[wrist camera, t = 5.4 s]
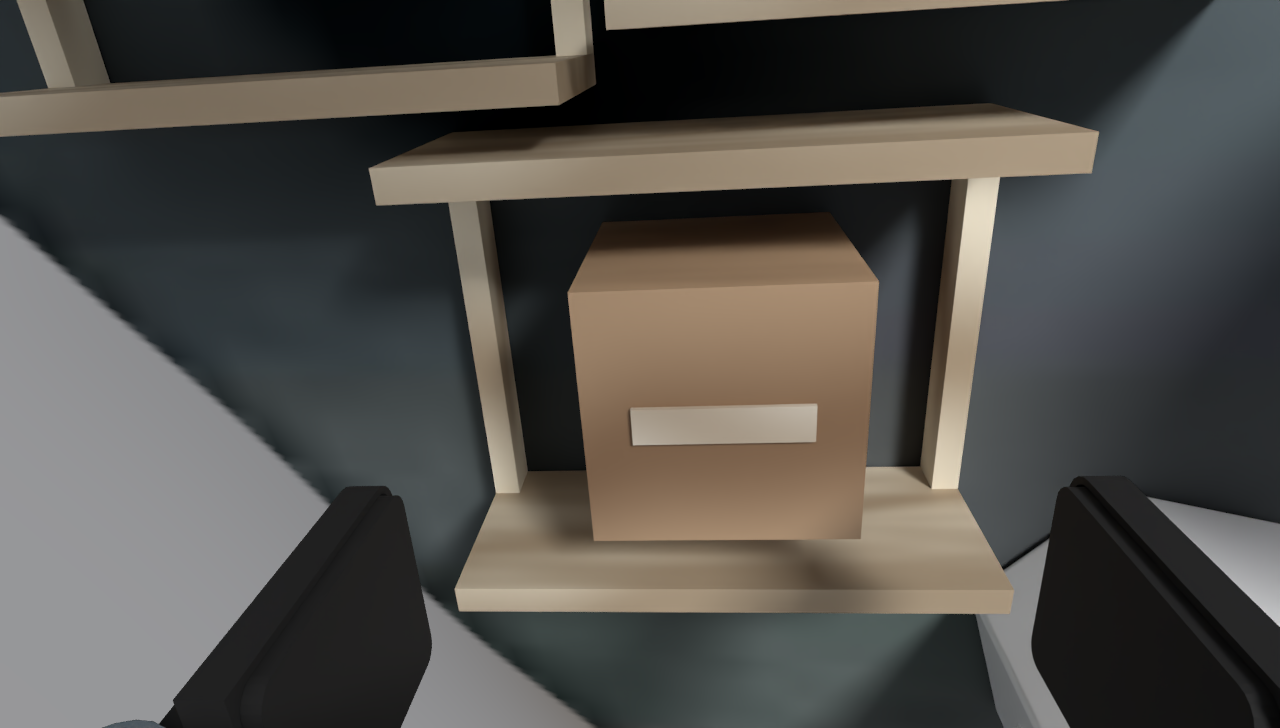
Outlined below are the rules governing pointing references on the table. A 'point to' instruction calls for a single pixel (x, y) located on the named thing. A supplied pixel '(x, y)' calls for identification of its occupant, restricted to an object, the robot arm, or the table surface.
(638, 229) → the letter cube
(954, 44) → the table surface
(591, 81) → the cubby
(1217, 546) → the jar
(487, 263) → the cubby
